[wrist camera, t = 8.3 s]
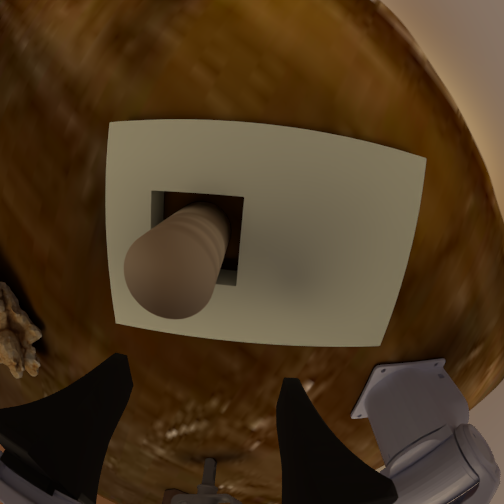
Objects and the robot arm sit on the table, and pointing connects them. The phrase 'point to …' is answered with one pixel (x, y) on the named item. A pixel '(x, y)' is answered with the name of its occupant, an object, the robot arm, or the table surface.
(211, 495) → the mechanical component
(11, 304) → the mineral formation
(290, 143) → the socket board
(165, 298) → the birch peg
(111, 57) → the table surface
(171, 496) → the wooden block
